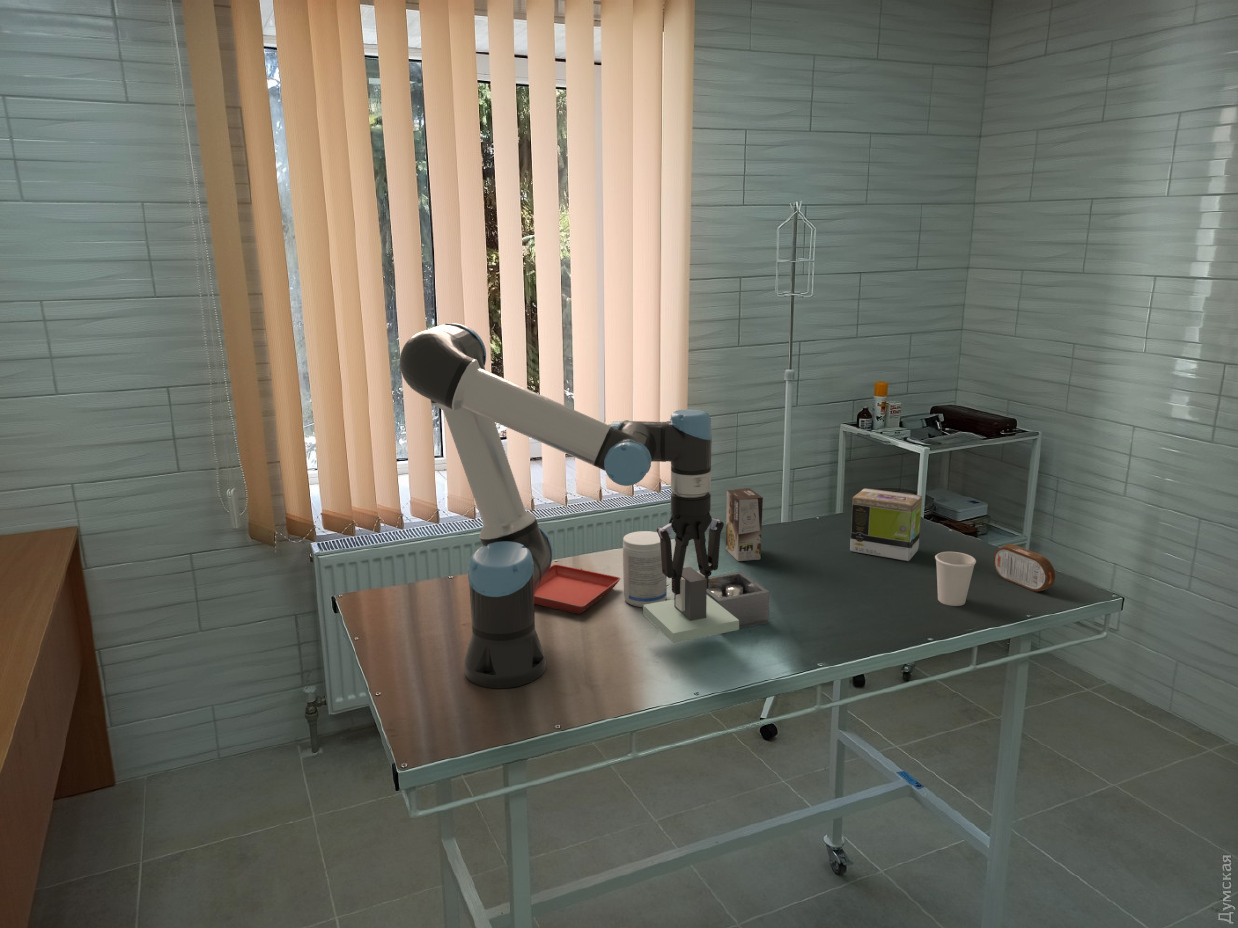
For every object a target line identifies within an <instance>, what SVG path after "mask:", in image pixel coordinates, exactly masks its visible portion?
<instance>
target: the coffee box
mask: <svg viewBox="0 0 1238 928" xmlns="http://www.w3.org/2000/svg"><path fill="white" fill-rule="evenodd" d="M763 501H764V498H763V497H762V496H761V495H760V494H758V493H757V492H755V491H754V490H753V489H752V488H750V487H748V488H747V487H746V488H737V489H728V490H726V512H725V514H726V516H725V521H726V522H725V528H726V529H725V534H726V535H725V550H726V552H728V554H730V555H731V556H732V557H733V558H734V559H735V560H736V562H745V561H755V560H756V561H758V560H761V558H762V557H761V556H762V555H761V552H762V530H763V529H762V527H763V525H762V524H763V503H764V502H763Z"/></svg>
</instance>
